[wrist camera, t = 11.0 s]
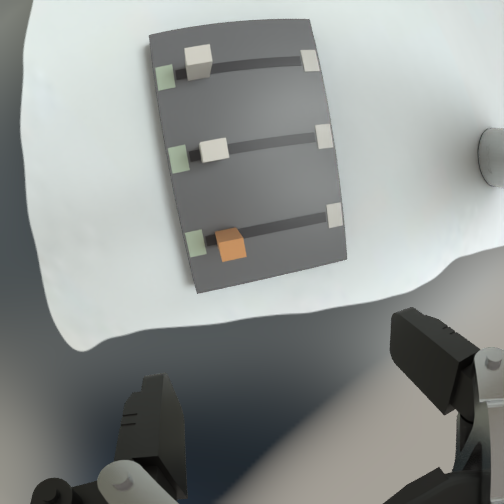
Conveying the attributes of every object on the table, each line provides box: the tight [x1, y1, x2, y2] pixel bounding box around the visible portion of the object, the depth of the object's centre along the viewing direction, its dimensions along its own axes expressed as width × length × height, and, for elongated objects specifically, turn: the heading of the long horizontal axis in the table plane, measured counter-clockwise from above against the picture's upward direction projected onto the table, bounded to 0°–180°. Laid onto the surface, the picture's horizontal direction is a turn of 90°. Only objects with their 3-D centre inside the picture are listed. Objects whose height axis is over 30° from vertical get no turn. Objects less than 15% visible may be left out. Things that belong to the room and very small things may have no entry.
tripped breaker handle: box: [215, 227, 247, 262], centre depth 28 cm, size 2×2×4 cm
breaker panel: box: [149, 19, 347, 294], centre depth 27 cm, size 16×26×7 cm, turn 10°
